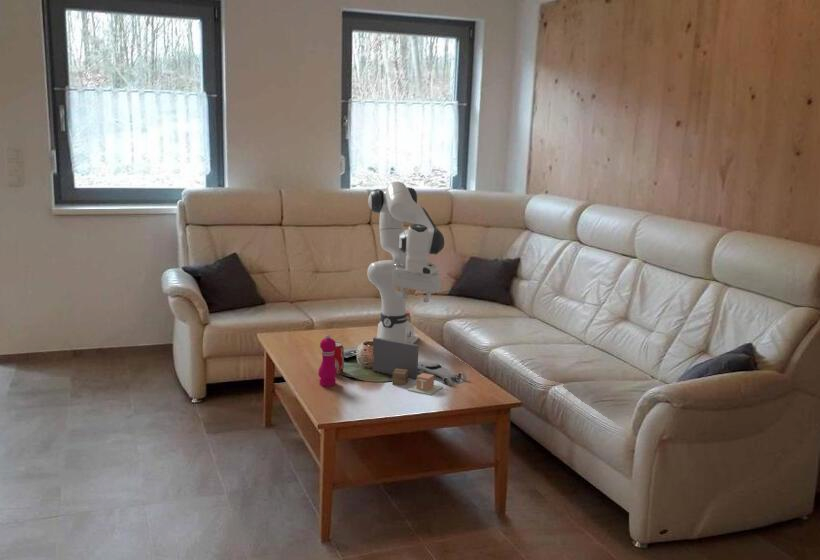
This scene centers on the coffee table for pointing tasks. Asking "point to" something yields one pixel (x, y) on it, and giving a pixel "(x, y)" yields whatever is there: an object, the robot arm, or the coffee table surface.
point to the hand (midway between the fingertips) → (415, 300)
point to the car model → (440, 373)
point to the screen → (395, 357)
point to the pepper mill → (327, 362)
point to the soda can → (338, 357)
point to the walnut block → (400, 377)
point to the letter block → (425, 382)
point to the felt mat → (425, 391)
